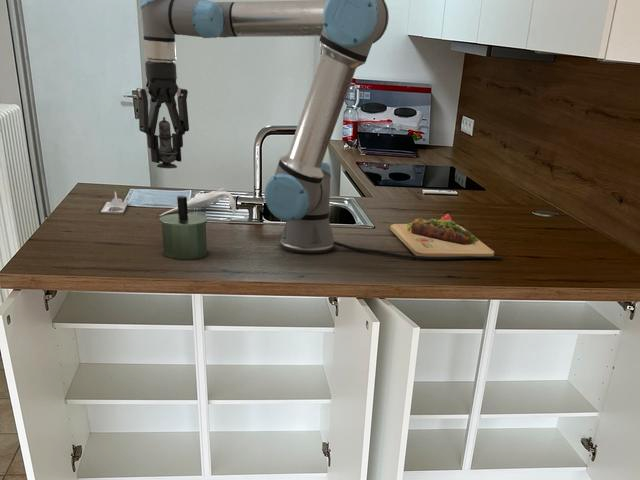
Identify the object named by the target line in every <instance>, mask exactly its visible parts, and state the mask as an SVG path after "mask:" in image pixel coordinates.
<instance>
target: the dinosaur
mask: <svg viewBox="0 0 640 480" xmlns="http://www.w3.org/2000/svg"><path fill="white" fill-rule="evenodd" d="M225 199H229V200H228V202H229V203H228V204H229V206H230V208H231V211H232V213H233V214H236V213H237V205H236V204H237V203H236V200H235V199H234V197H233V195H232V193H231V192H229V191H226V188H225V187H224V186H223V187H221V188H220V189H218V190H212V191H210V192H205V193H201V192H199V193H195V195H194V197H191V198H190V199H189V200H187V209H190V208H197V209H199V208H208V207H211V205H216V204H218V202H220V201H221V200H225ZM174 212H178V206H177V207H174V208H172V209H170V210H167V211H165V212H163V213H161V214H159V217H162V216H165V215H169V214H171V213H174Z"/></svg>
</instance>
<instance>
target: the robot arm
mask: <svg viewBox="0 0 640 480" xmlns="http://www.w3.org/2000/svg"><path fill="white" fill-rule="evenodd" d="M140 10H141V20H142V31H143V32H142V33H143V50H144V58H145V59H147V60H146V61H145V62H144V65H145V78H146V84H145V86H144V87H140V88H139V87H137V88H136V89H135V92H136V95H137V98H138V129H139V132H142V133H144V134H146V140H147V141H146V142H147V147H148V149H150V160H151V162H152V163H156V164H160V163H161V162H160V160H159V146H160V143H159V137H158V135H157V134H156V130H157V124H158V120H159V113H160V109H161V108H162V104H165V106H166V108H167V111H168V114H169V118H170V121H171V125H172V128H173V132H174V133H171V136H172V138H171V144H172V148H173V150H174V151H176V152H178V153H177V154H176V160H175V161H176V162H179V163H180V162H182V148H183V147H184V137H183V136H184V135H185V134H186V132H189V131H190V124H189V123H190V121H189V112H188V101H187V100H188V99H187V98H188V93H189V91H188V89H186V88H181V87H179V85H178V83H177V79H178V71H177V64H176V62H175V61H176V60H177V50H176V49H177V48H176V36H187V37H195V38H196V37H197V38H202V39H217V38H226V39H227V38H238V37H239V38H243V37H244V38H245V37H246V38H247V37H251V38H252V37H254V38H255V37H257V38H258V37H261V38H263V37H264V38H266V37H269V38H270V37H273V38H274V37H319V40H318V43H319V46H320V48H321V55H320V57H319V61H318V64H317V66H316V70H315V73H314V75H313V79H312V82H311V84H310V88H309V91H308V93H307V97H306V100H305V103H304V105H303V108H302V111H301V115H300V116H299V120H298V123H297V127H296V130H295V133H294V135H293V138H292V141H291V144H290V147H289V150H288V152H287V153H285V154H282V155H281V156H280V158H279V161H278V164H277V167H276V169H275V172H274V175H272V176H271V177H270V179H269V180H268V181H267V183H266V184H265V187H264V193H263V197H264V202H265V204H266V206H267V209H268V210H269V211H270V213H271V214H272V215H273V216H274V217H275V218H277V219H279V220H281V221H284V222H285V223H284V227H283V231H282V234H281V236H280V247H281V248H282V249H283V250H285V251H288V252H291V253H296V254H309V255H310V254H311V255H313V254H314V255H315V254H316V255H317V254H324V253H325V254H326V253H329V252H332V251H334V249H335V246H338V247H341V248H345V249H347V250H349V251H354V252H361V253H369V254H378V255H384V256H389V257H395V258H401V259H410V260H411V259H412V260H426V261H427V260H429V261H448V260H449V261H451V260H452V261H453V260H502V259H503V256H502V255H494V256H447V257H429V256H416V255H413V254H412V255H411V254H402V253H395V252H390V251H383V250H377V249H368V248H360V247H355V246H350V245H348V244H345V243H341V242H339V241H335V238H334V235H333V231H332V228H331V223H330V200H331V199H330V197H331V178H332V174H331V166H330V165H331V164H330V163H328V162H325V161H324V159H325V155H326V152H327V150H328V147H329V144H330V143H331V139H332V136H333V134H334V131H335V127H336V126H337V123H338V120H339V118H340V114H341V112H342V109H343V106H344V104H345V100H346V98H347V95H348V92H349V90H350V87H351V84H352V82H353V78H354V75H355V73H356V70H357V68H359V67H361V66H362V65H364V64H366V62H367V59H368V57H369V54H370V52H371V50H372V49H371V48H372V46H373V44H375V43H377V42H378V41H380V39H381V38H382V37H383V36H384V34H385V33H386V31H387V29H388V25H389V20H390V19H389V18H390V16H389V15H390V14H389V7H388V5H387V3H386V0H264V1H263V0H259V1H258V0H257V1H256V0H254V1H253V0H252V1H212V0H140ZM149 96H150V99H148V97H149ZM176 96H177V101H176V98H175V97H176ZM175 161H174V162H175Z"/></svg>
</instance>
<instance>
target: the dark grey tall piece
mask: <svg viewBox="0 0 640 480" xmlns="http://www.w3.org/2000/svg"><path fill="white" fill-rule="evenodd" d="M171 132H172V131H171V123H170V122H169V120H168V121H167V119H166V117H165V116H163V117H162V120H160V121H159V122H158V135H157V136H158V143H159V160H160V163H157V164H156V167H157V168H160V169H178V166H177V165H176V164H175V163H174V162H175V160H176V154H177V153H178V152H176V151H174V150H173V144H172V133H171Z"/></svg>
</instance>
